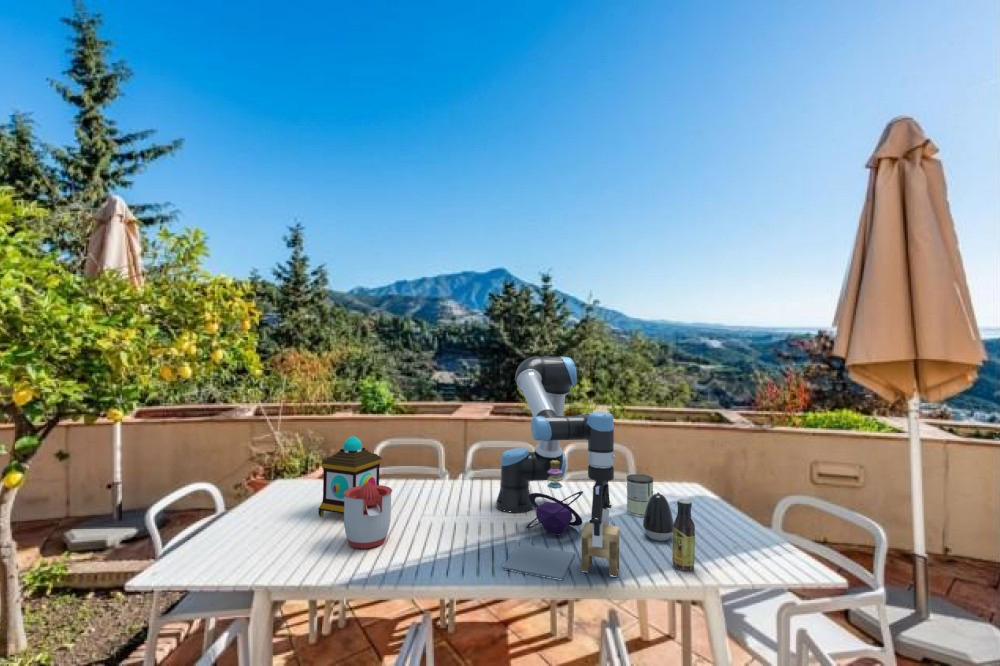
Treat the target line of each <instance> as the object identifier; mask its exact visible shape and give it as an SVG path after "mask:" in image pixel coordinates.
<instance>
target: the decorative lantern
mask: <svg viewBox="0 0 1000 666" xmlns="http://www.w3.org/2000/svg"><path fill="white" fill-rule="evenodd" d="M362 445H363V444H362V441H361V440H360V439H359V438H358V437H357V436H350V437H348V438H347V439H346V440H345V441H344V443H343V447H342V448H340V449H339V451H338V452H336V453H335V454H333V455H331V456H328V457H326V458H325V459H324V460H322V461H321V462H320V466H321V467H322V470H323V477H322V478H323V480H322V481H323V482H322V483H323V486H322V501H321V503H320V505H319V508H318V516H319V517H320V518H322V517H323V516H324V513H325V512H331V513H335V514H342V515H344V499H345V495H344V492H345V491H346V490H348V489H350V488H353V487H357V486H363V485H365V484H366V483H367V482H370V483H371V484H372V485H380V465H381V462H382V461H383V457H381V455H378V454H377V453H374V452H373V453H372V452H370V451H369V450H368V449H366V448H365V447H363V446H362Z"/></svg>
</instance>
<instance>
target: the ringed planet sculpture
mask: <svg viewBox="0 0 1000 666" xmlns="http://www.w3.org/2000/svg"><path fill="white" fill-rule="evenodd" d="M550 464H551V469H550V470H549V471H548V473H549V474H553V475H551V476H550V477H548V480H547V481H549V483H548V484H547V487H548V488H551V489H555V490H556V489H561V488H562V487H563V485H562V484H561V482H562V480H563V477H562V478H561V477H560V476H554V475H558V474H562V473H563V472H562V471H561V470H559V465H560V462H559V461H558V460H556V461H554V460H552V461H550ZM583 494H584V491H578V492H576V493H573V494H571V495H569V496H567V497H566V498H564V499H562V500H560V499H558V498H556V497H553V496H551V495H549V494H548V495H547V494H545V493H539V492H532V493H531V492H530V495H529V500H530V502H531V503H532V504H533V507H534V508H536V510H535V511H536V517H535V518H534V519H532V520H531V521H530V522H529V523H528V524H527V525H526V526H525V528H524V529H525V530H529V529H531V528H534V527H536V526H539V525H541V526H542V528H543V529H544V530H545V531H546V533H547V534H548V535H557V534H560V535H562V534H563V532H564V531H565V530H566V529H567V527H568V526H570V527H571V526H572V527H579V526H582V524H583V519H582V517H581V516H580V514H578V513H577V511H576V510H575V509H573V508H572V507H571V506H570V505H571V504H572V503H574V502H575V501H576V500H578V499H579V497H581V496H582V495H583ZM575 496H576V497H575ZM572 497H575V498H573V499H572V500H571V501H570V502H569V503H565V501H566V500H568V499H570V498H572ZM537 498H543V499H547V500H550V501H545V502H544V503H541V504H539V505H538V504H537V503H536V499H537ZM573 516H574V517H575V520H574V521H573ZM536 520H537V521H538V522H537V523H535V524H533V522H535V521H536Z"/></svg>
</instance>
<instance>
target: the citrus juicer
mask: <svg viewBox="0 0 1000 666" xmlns="http://www.w3.org/2000/svg"><path fill="white" fill-rule="evenodd" d="M392 492H393V490H392V488H391V487H389V486H387V485H382V484H379V485H372V484H371V483H370V482H367V483H366V484H365V485H363V486H357V487H353V488H350V489H348V490H346V491H345V492H344V495H345V499H344V514H343V527H344V532H345V537H346V540H347V542H348V543H347V544H348V545H349V546H350V547H351V548H354V549H357V548H361V549H370V548H371V549H372V548H376V547H378V546H381V545H383V544H384V543H385V541H386V540H387V536H388V532H389V529H390V524H391V519H392V518H391V516H392V514H391V513H392Z"/></svg>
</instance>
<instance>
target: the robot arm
mask: <svg viewBox="0 0 1000 666" xmlns="http://www.w3.org/2000/svg"><path fill="white" fill-rule="evenodd" d="M577 379H578V376H577V369H576V364H575V362H574V360H573V359H572V358H571V357H569V356H530V357H528V358H526V359H524V360H523V361H522V362H521V363H520V364H519V365H518V366H517V369H516V372H515V383H516V385H517V387H518V389H519V390H520V391H521V392H522V393H523V396H524V398H525V400H526V402H527V405H528V408H529V410H530V412H531V414H532V417H533V418H532V419H531V422H530V431H531V436H532V439H533V440H535V441H538V443H537V444H536V445H535V446H534V451H530V450H529V449H528V448H526V447H523V448H521V447H517V448H511V449H507V450H505V451H503V452H502V454H501V457H500V489H499V492H498V494H497V495H498V496H497V498H496V501H495V502H496V503H495V504H496V505H495V507H496V506H497V507H498V508H499V509H501V510H505V511H511V512H520V513H524V512H523V511H526V512H529V511H531V510H532V509H533V508H534V506H533V504H532V503H531V502H530V500H529V495H530V494H531V491H530V488H529V486H530V482H536V481H537V482H539V481H540V482H541V481H542V482H543V481H549V480H548V477H550V476H551V475H553V474H549V473H548V471H549V470H550V469H551V464H550V461H552V460H554V461H556V460H558V461H559V462H560V465H559V470H561V471H562V472H563V473H562V474H558V475H554V476H560V477H561V478H562V479H563V477H564V476H565V473H566V470H567V463H566V462H567V457H566V453H565V452H564V451H563V449H562V447H561V446H560V444H561V441H587V463H588V466H587V477H588V478H589V480H592V481H595V483H594V485H593V487H592V504H591V517H590V519H589V521H588V523H592V546H594V547H601V548H602V525H610V509H612V504H611V500H610V490H609V488H610V487H609V486H610V485H609V482H610V481H613V480H614V479H615V469H614V467H613V465H614V463H615V462H614V459H616V458H617V457H616V455H615V454H614V444H615V443H614V441H615V440H614V439H615V438H614V435H615V434H614V433H615V432H614V431H615V425H614V424H615V423H614V415H613V414H612V413H609V412H604V411H602V412H601V411H595V412H590V413H589V414H584V413H583V414H579V415H564V409H565V402H566V396H567V395H569V394H570V391H571V387H575V386H576V384H577V381H578V380H577ZM497 507H496V508H497ZM498 508H497V509H498ZM499 509H498V510H499ZM530 509H531V510H530ZM501 510H500V511H501ZM528 510H529V511H528ZM505 511H504V512H505ZM511 512H510V513H511Z"/></svg>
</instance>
